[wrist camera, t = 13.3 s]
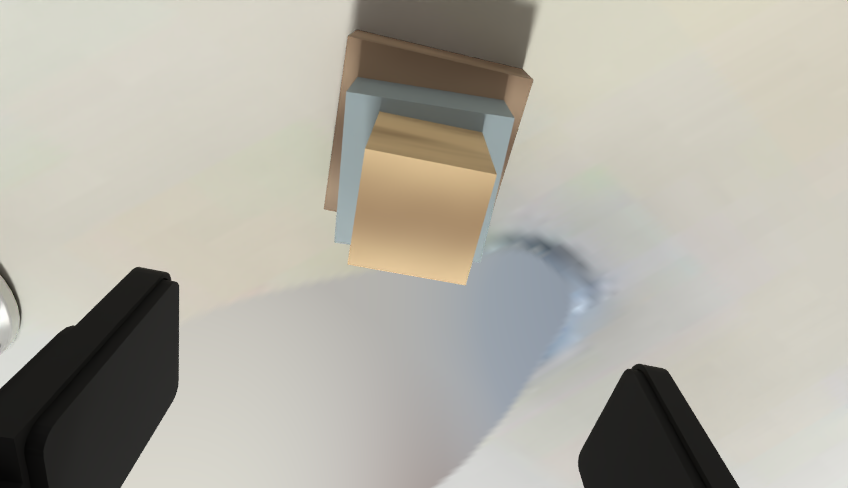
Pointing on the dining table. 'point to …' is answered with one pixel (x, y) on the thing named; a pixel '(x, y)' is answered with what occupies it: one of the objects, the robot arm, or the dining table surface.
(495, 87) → the walnut slab
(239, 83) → the dining table surface
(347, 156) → the slate-grey block
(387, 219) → the oak block
